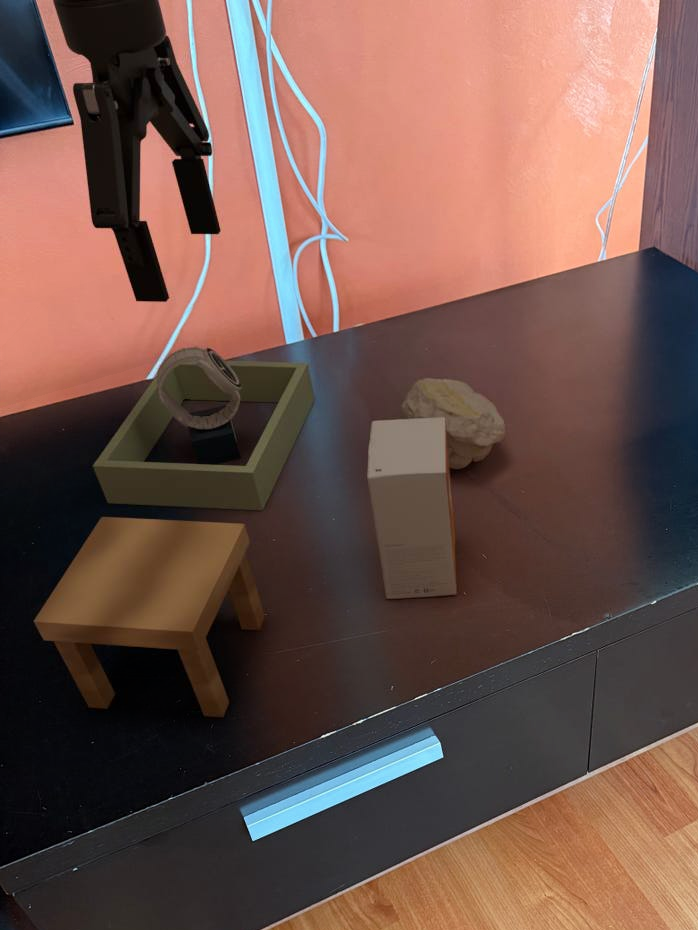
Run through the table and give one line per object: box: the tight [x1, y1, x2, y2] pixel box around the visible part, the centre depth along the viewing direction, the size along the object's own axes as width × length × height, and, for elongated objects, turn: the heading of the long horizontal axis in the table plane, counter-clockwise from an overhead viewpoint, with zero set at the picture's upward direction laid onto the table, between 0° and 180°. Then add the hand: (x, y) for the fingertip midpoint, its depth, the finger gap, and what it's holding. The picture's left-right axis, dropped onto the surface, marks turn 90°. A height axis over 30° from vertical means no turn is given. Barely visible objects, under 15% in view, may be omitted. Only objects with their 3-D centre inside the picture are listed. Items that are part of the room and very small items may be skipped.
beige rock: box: [400, 377, 506, 470], centre depth 95 cm, size 12×8×10 cm
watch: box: [156, 346, 242, 465], centre depth 96 cm, size 6×8×11 cm
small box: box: [366, 417, 458, 600], centre depth 80 cm, size 8×6×13 cm
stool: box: [33, 516, 266, 718], centre depth 75 cm, size 12×12×10 cm
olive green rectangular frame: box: [92, 360, 316, 511], centre depth 98 cm, size 16×20×4 cm
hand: (181, 264), depth 86 cm, fingers open, 13 cm apart
